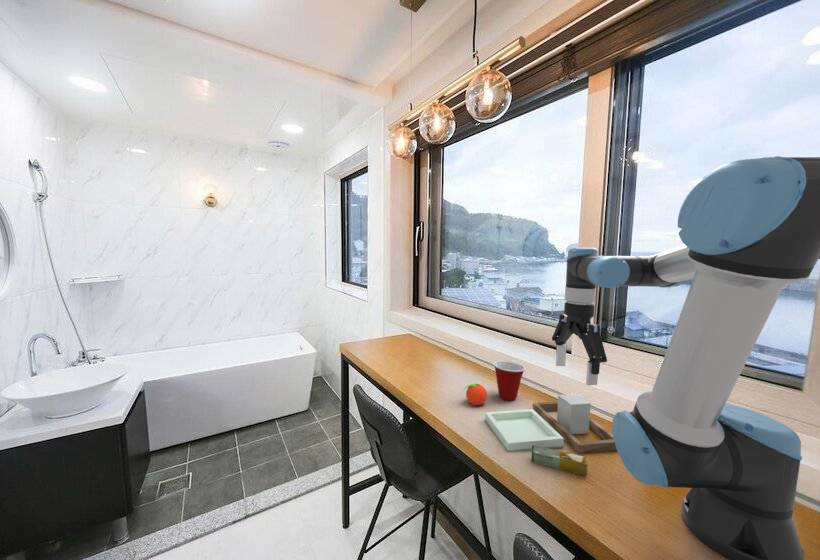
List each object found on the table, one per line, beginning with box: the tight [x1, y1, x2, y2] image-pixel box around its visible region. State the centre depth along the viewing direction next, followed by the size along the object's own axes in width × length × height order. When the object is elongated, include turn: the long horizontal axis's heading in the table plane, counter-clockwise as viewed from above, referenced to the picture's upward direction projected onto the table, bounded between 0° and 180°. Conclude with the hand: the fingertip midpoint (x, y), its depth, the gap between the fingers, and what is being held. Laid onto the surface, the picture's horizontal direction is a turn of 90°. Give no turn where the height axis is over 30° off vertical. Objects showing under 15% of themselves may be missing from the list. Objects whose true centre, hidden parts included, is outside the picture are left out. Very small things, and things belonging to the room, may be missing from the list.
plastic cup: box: [493, 360, 526, 402], centre depth 111 cm, size 11×11×12 cm
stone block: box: [556, 393, 592, 435], centre depth 92 cm, size 6×6×9 cm
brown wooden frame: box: [532, 400, 618, 454], centre depth 92 cm, size 22×12×2 cm, turn 8°
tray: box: [484, 408, 565, 452], centre depth 89 cm, size 15×15×3 cm
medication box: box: [531, 445, 589, 477], centre depth 75 cm, size 12×3×4 cm, turn 67°
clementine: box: [462, 383, 488, 406], centre depth 106 cm, size 8×7×7 cm
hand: (574, 374), depth 91 cm, fingers open, 13 cm apart
